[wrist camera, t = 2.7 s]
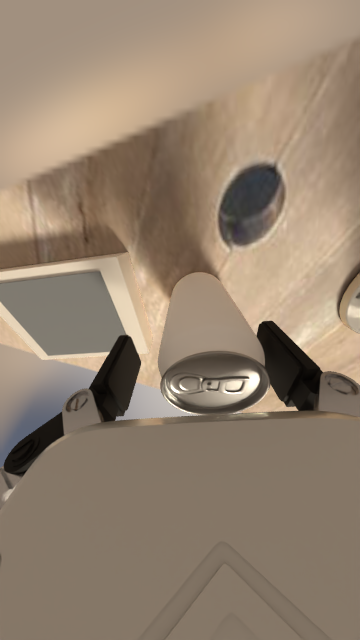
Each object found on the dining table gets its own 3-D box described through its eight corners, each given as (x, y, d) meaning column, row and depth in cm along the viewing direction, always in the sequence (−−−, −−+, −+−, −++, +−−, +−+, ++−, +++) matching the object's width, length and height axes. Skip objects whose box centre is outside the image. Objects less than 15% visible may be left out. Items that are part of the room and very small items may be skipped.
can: (170, 271, 16) (142, 344, 6) (228, 270, 16) (305, 345, 5) (173, 319, 19) (158, 417, 9) (220, 319, 19) (259, 420, 9)
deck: (128, 252, 15) (115, 257, 12) (153, 338, 21) (148, 355, 19) (-3, 269, 16) (-41, 277, 14) (57, 345, 23) (39, 361, 20)
